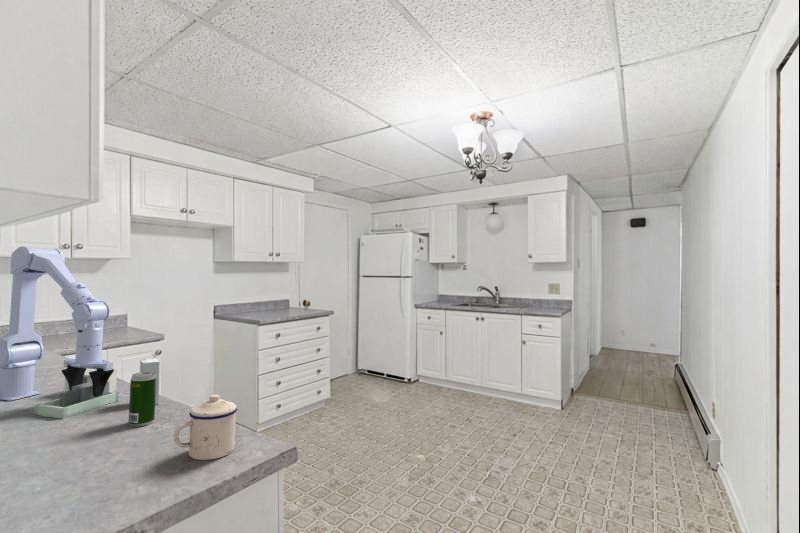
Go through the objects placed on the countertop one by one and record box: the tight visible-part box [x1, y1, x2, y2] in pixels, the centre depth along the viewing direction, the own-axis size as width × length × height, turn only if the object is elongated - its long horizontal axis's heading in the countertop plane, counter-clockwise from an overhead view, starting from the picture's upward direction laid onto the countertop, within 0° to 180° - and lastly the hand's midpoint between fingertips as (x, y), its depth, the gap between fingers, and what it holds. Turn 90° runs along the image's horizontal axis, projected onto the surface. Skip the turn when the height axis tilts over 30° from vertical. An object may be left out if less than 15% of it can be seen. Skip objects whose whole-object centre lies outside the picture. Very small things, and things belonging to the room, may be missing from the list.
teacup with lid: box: [173, 394, 238, 461], centre depth 82 cm, size 12×9×12 cm
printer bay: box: [64, 368, 118, 392], centre depth 120 cm, size 10×8×6 cm
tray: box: [34, 391, 119, 420], centre depth 107 cm, size 9×15×2 cm, turn 168°
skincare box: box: [139, 358, 160, 406], centre depth 112 cm, size 6×4×12 cm
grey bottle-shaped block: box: [59, 381, 109, 407], centre depth 108 cm, size 4×11×5 cm, turn 168°
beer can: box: [128, 372, 156, 428], centre depth 97 cm, size 5×5×12 cm
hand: (86, 394), depth 109 cm, fingers open, 7 cm apart
